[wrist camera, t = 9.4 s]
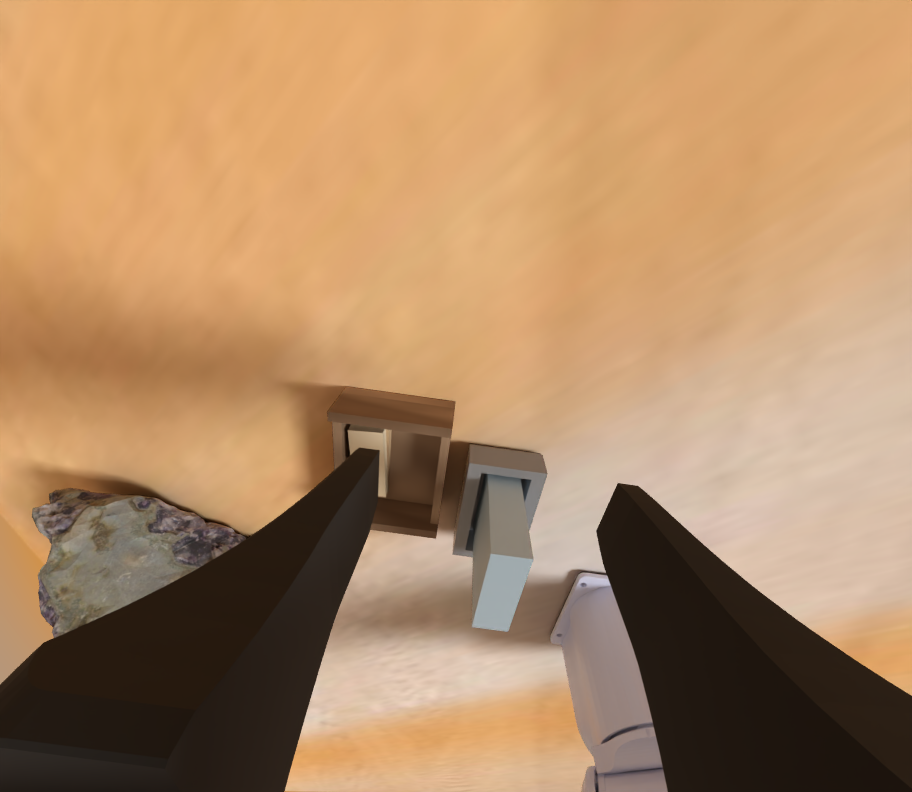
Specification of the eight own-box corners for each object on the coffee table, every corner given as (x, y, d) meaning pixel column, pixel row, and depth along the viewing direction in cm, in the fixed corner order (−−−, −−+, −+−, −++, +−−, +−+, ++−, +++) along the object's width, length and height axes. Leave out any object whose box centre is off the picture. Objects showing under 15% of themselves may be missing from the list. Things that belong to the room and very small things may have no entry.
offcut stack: (390, 490, 24) (385, 505, 23) (355, 485, 24) (349, 500, 23) (394, 420, 21) (388, 433, 20) (355, 414, 21) (347, 427, 20)
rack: (440, 503, 25) (435, 538, 23) (348, 491, 25) (333, 524, 22) (455, 401, 21) (452, 429, 19) (346, 386, 21) (327, 411, 19)
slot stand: (515, 537, 26) (518, 563, 24) (454, 528, 26) (452, 554, 24) (541, 451, 23) (547, 473, 21) (470, 441, 23) (469, 463, 21)
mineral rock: (78, 469, 26) (-133, 606, 17) (197, 436, 24) (29, 570, 15) (189, 580, 31) (75, 727, 22) (294, 561, 29) (213, 714, 20)
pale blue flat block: (500, 529, 25) (508, 631, 19) (473, 525, 25) (471, 627, 19) (518, 464, 23) (533, 559, 16) (487, 459, 23) (491, 553, 16)
